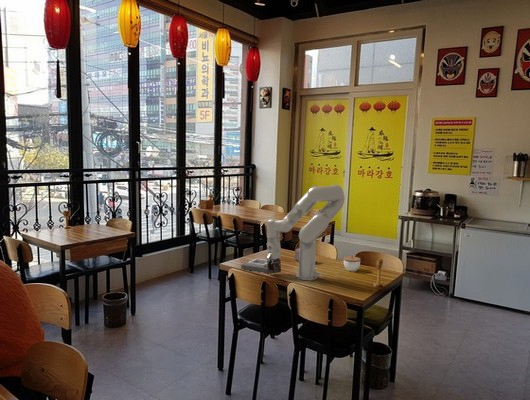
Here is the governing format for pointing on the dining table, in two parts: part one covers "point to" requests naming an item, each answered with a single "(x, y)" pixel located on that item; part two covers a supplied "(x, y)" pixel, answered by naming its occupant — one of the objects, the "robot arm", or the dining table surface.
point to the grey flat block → (255, 265)
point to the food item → (297, 254)
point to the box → (275, 266)
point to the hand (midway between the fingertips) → (274, 268)
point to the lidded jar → (351, 263)
